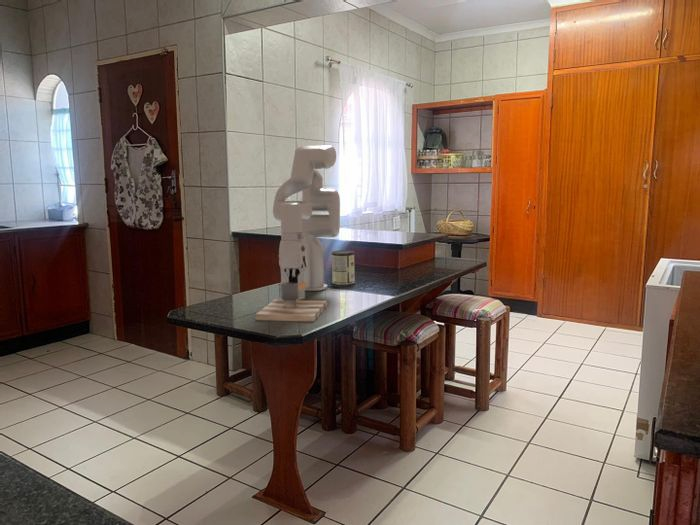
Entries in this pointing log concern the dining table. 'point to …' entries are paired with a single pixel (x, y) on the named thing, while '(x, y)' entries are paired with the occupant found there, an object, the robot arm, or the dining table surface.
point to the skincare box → (300, 279)
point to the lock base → (292, 310)
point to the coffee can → (343, 267)
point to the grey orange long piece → (291, 290)
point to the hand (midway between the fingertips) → (293, 286)
